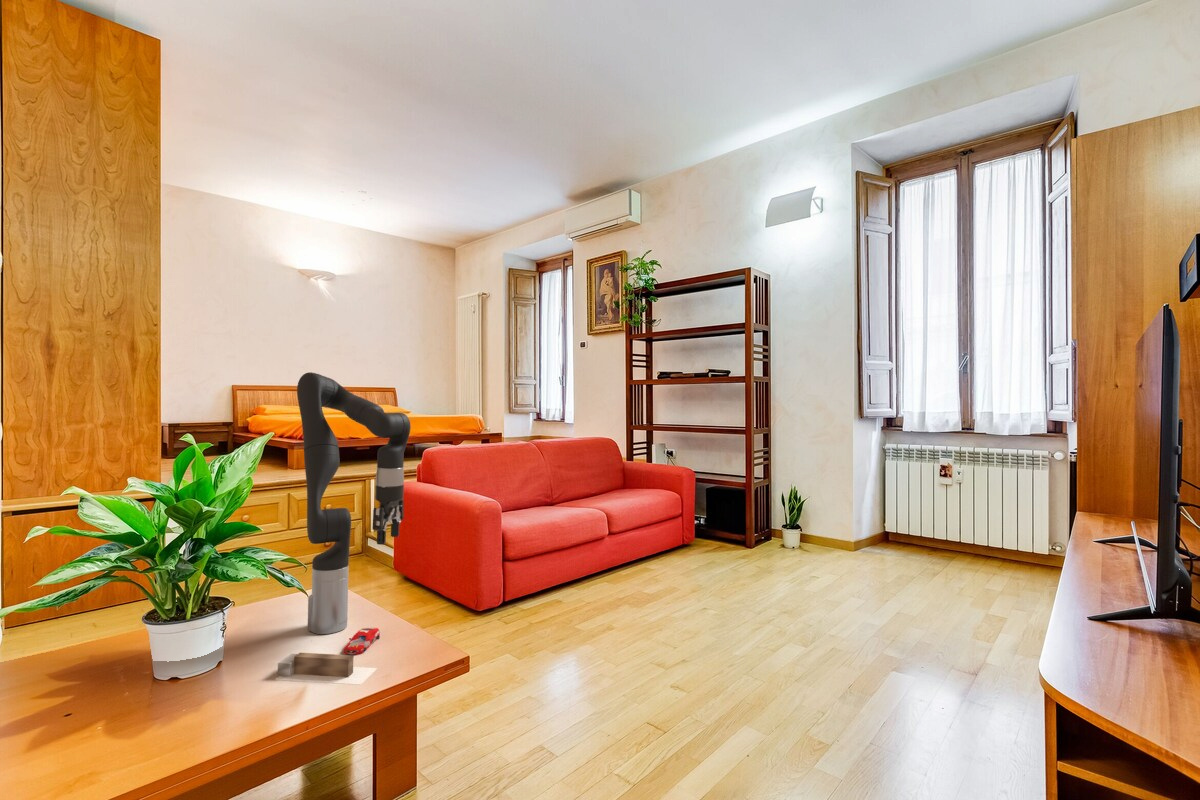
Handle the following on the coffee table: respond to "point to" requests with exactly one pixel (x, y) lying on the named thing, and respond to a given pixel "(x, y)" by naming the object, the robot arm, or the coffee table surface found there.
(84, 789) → the coffee table surface
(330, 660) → the brown and gray block
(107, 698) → the coffee table surface
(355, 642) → the race car
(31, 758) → the coffee table surface
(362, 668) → the pad
